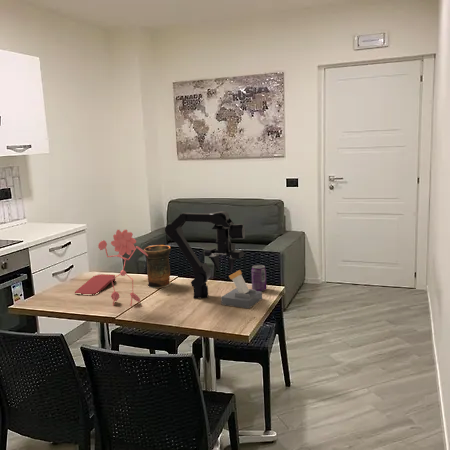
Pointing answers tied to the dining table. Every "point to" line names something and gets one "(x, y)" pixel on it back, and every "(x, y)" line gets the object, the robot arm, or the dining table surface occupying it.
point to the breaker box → (241, 298)
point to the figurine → (122, 245)
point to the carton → (95, 284)
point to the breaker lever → (239, 282)
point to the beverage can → (258, 277)
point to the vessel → (158, 265)
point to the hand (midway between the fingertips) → (224, 271)
